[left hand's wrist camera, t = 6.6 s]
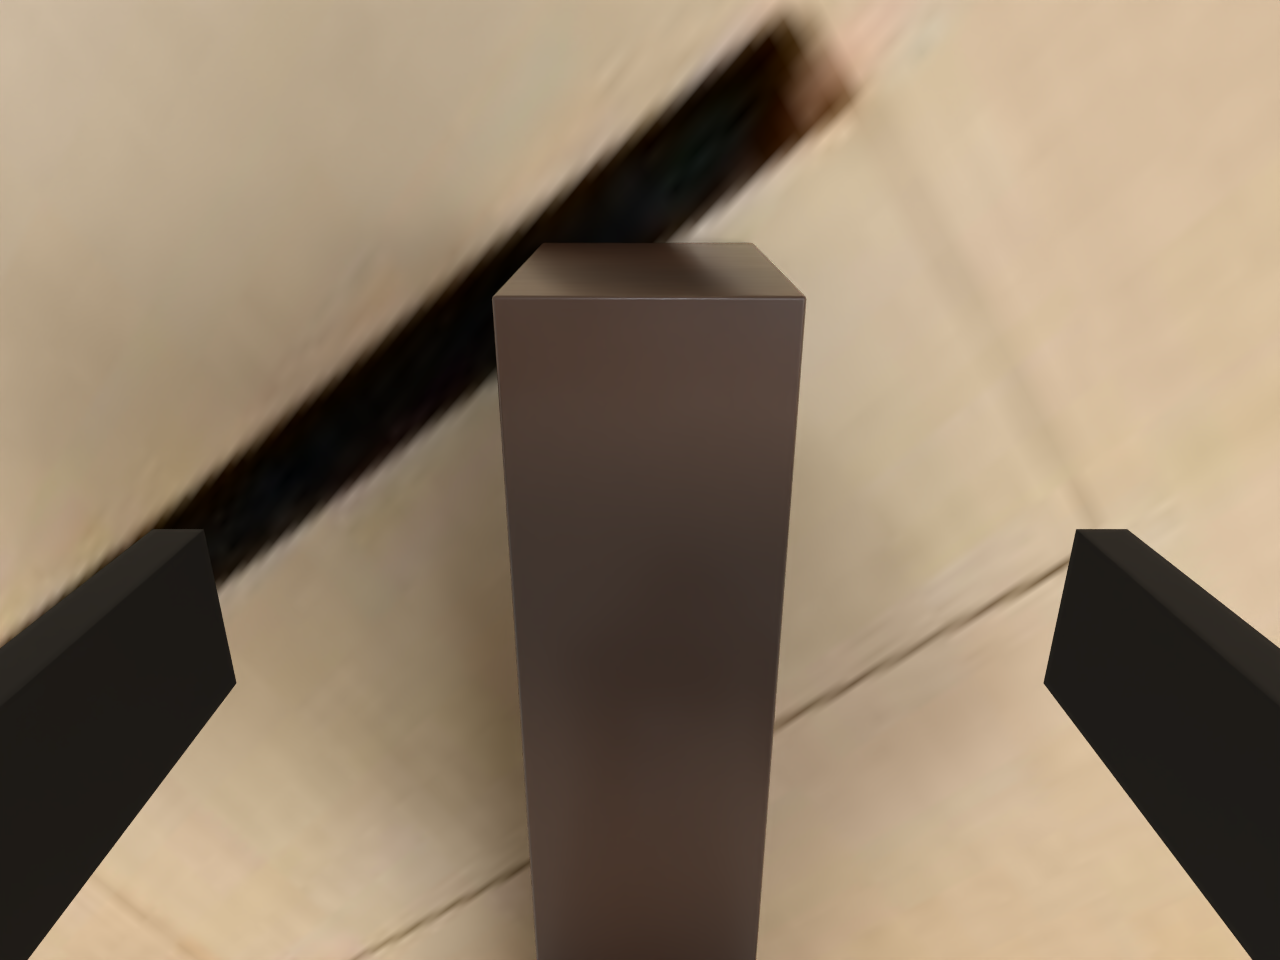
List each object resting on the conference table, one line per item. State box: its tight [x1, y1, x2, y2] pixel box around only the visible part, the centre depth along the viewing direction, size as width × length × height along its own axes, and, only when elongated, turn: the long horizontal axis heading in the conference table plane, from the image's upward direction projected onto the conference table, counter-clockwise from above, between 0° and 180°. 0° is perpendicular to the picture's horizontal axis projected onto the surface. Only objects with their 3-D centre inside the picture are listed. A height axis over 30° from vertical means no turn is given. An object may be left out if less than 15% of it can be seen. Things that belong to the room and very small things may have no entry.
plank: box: [492, 243, 806, 960], centre depth 23 cm, size 32×5×7 cm, turn 0°
